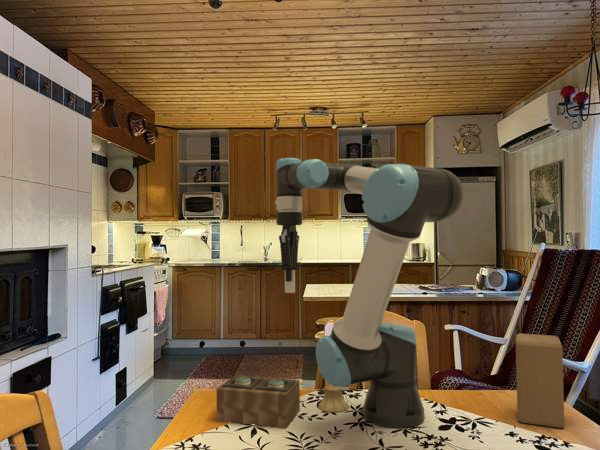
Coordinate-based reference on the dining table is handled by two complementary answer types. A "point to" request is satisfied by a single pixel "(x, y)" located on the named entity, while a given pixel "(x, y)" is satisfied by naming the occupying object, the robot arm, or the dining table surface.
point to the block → (539, 380)
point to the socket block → (258, 402)
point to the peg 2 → (276, 383)
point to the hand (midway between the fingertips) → (290, 292)
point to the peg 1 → (243, 381)
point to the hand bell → (333, 400)
